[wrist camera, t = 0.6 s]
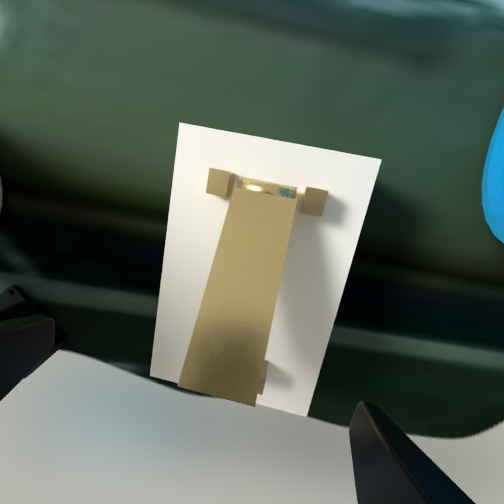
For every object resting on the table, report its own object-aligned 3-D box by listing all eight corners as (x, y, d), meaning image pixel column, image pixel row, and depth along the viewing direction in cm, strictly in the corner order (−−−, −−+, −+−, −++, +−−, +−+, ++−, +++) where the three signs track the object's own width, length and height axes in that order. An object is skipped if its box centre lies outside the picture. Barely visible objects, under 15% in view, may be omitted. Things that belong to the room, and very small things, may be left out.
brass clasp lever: (239, 182, 14) (238, 171, 13) (297, 194, 13) (300, 183, 12) (183, 382, 11) (176, 386, 10) (254, 400, 11) (255, 407, 10)
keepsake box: (206, 140, 18) (163, 110, 12) (356, 167, 17) (397, 152, 11) (178, 335, 22) (134, 395, 15) (302, 366, 21) (309, 442, 14)
